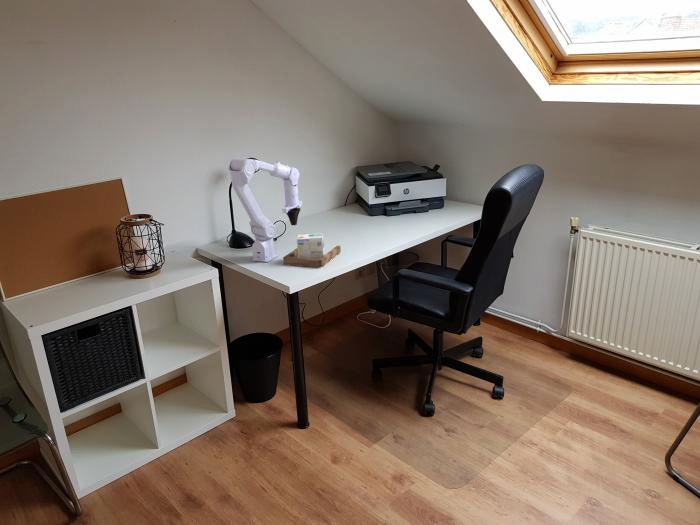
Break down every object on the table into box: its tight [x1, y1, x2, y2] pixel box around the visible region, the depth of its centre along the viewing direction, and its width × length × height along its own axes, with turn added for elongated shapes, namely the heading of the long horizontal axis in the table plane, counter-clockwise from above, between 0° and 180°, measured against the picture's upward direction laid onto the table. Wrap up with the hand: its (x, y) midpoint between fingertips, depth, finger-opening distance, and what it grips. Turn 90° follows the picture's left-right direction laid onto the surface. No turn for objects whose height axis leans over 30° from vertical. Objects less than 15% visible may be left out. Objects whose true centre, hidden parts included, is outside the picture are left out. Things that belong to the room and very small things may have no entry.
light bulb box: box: [296, 232, 326, 259], centre depth 239 cm, size 11×7×11 cm, turn 90°
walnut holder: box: [282, 244, 342, 268], centre depth 243 cm, size 20×17×3 cm
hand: (293, 224), depth 255 cm, fingers closed
